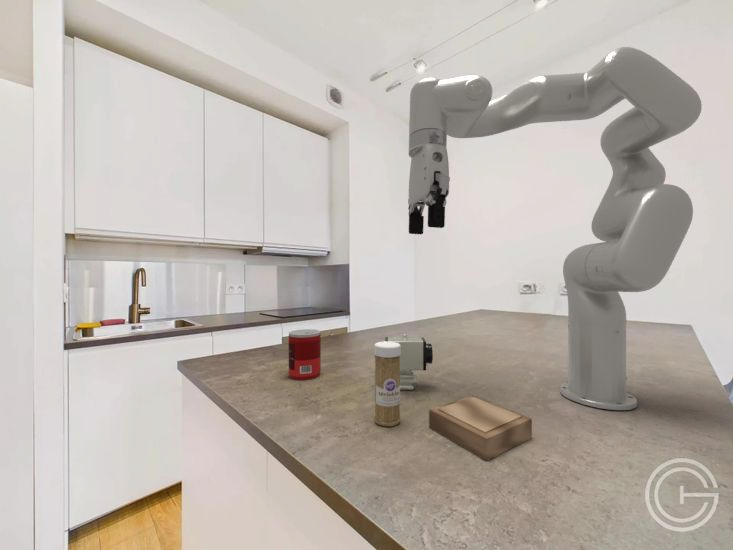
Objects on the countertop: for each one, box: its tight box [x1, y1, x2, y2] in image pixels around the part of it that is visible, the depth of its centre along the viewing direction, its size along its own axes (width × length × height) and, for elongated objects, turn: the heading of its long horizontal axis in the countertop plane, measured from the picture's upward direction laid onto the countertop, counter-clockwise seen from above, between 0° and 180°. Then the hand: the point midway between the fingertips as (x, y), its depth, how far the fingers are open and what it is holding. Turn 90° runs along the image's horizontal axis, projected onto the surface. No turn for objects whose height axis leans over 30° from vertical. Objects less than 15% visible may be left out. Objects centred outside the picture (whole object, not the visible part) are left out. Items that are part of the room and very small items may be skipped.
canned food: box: [288, 328, 322, 381], centre depth 78 cm, size 8×8×11 cm
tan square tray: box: [428, 395, 533, 462], centre depth 49 cm, size 11×11×3 cm
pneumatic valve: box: [383, 333, 434, 391], centre depth 70 cm, size 6×12×12 cm, turn 86°
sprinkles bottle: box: [373, 341, 401, 427], centre depth 53 cm, size 5×5×14 cm
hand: (425, 230), depth 62 cm, fingers open, 9 cm apart
